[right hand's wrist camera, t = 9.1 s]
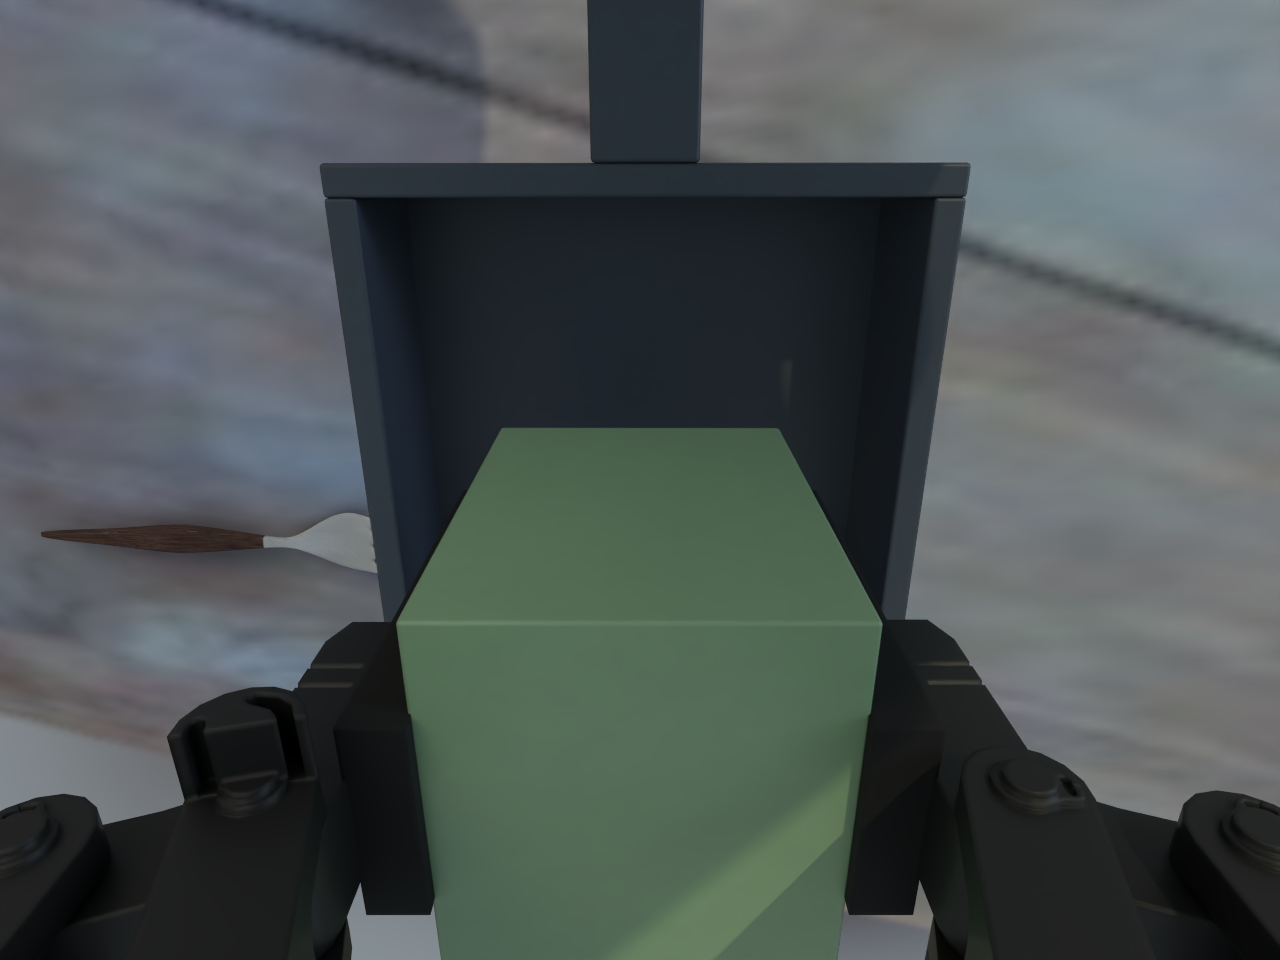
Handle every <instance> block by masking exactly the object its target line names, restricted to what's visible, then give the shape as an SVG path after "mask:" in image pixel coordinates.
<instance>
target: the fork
mask: <svg viewBox="0 0 1280 960" xmlns="http://www.w3.org/2000/svg"><path fill="white" fill-rule="evenodd" d="M41 535H42V537H46V538H52V539H59V540H66V541H75V542H84V543H94V544H104V545H113V546H121V547H129V548H137V549H145V550H153V551H163V552H177V553H194V552H212V551H227V550H241V549H254V548H271V547H287V548H294V549H298V550H302V551H305V552H308V553H310V554H313V555H316V556H318V557H321V558H323V559H326V560H328V561H331V562H334V563H336V564H339V565H342V566H345V567H349V568H353V569H357V570H362V571H367V572H373V573H377V566H376V563H375V561H374V560H375V552H374V547H373V538H372V531H371V524H370V518H369V517H366V516H363V515H360V514H356V513H342V514H337V515H334V516H332V517H329V518H327V519H325V520H323V521H322V522H320V523H318V524H316V525H315V526H313V527H311V528H310V529H308V530H306V531H305V532H303V533H301V534H298V535H296V536H292V537H272V536H265V535H257V534H250V533H244V532H237V531H230V530H223V529H216V528H208V527H200V526H189V525H160V526H144V527H129V528H111V529H82V530H59V531H46V532H41ZM377 574H378V573H377Z"/></svg>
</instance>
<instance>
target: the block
mask: <svg viewBox="0 0 1280 960" xmlns="http://www.w3.org/2000/svg"><path fill="white" fill-rule="evenodd" d="M882 625H883V624H882V621H881V619H880V618H879V616H878V614H877V612H876V610H875V608H874V606H873V604H872V603H871V601H870V599H869V597H868V595H867V593H866V591H865V590H864V588H863V586H862V584H861V582H860V580H859V578H858V576H857V575H856V573H855V571H854V569H853V567H852V565H851V563H850V561H849V560H848V558H847V556H846V554H845V552H844V550H843V548H842V546H841V545H840V543H839V541H838V539H837V537H836V535H835V533H834V531H833V530H832V528H831V526H830V524H829V522H828V520H827V518H826V517H825V515H824V513H823V511H822V509H821V507H820V505H819V503H818V502H817V500H816V498H815V496H814V494H813V492H812V490H811V488H810V487H809V485H808V483H807V481H806V479H805V477H804V475H803V473H802V472H801V470H800V468H799V466H798V464H797V462H796V460H795V458H794V457H793V455H792V453H791V451H790V449H789V447H788V445H787V444H786V442H785V440H784V438H783V436H782V434H781V432H780V430H779V429H777V428H502V429H501V430H500V432H499V434H498V436H497V438H496V440H495V442H494V443H493V445H492V447H491V449H490V451H489V453H488V454H487V456H486V458H485V460H484V462H483V464H482V465H481V467H480V469H479V471H478V473H477V475H476V477H475V478H474V480H473V482H472V484H471V486H470V488H469V489H468V491H467V493H466V495H465V497H464V499H463V500H462V502H461V504H460V506H459V508H458V510H457V512H456V513H455V515H454V517H453V519H452V521H451V523H450V524H449V526H448V528H447V530H446V532H445V534H444V535H443V537H442V539H441V541H440V543H439V545H438V547H437V548H436V550H435V552H434V554H433V556H432V558H431V559H430V561H429V563H428V565H427V567H426V569H425V570H424V572H423V574H422V576H421V578H420V580H419V582H418V583H417V585H416V587H415V589H414V591H413V593H412V594H411V596H410V598H409V600H408V602H407V604H406V605H405V607H404V609H403V611H402V613H401V615H400V617H399V618H398V620H397V623H396V626H397V634H398V641H399V649H400V656H401V664H402V671H403V678H404V686H405V693H406V701H407V708H408V714H411V721H412V729H413V736H414V744H415V751H416V759H417V766H418V774H419V781H420V789H421V796H422V804H423V811H424V819H425V826H426V834H427V841H428V849H429V856H430V864H431V871H432V879H433V886H434V893H435V900H434V910H435V917H436V925H437V932H438V940H439V947H440V955H441V960H837V958H838V951H839V943H840V936H841V929H842V921H843V914H844V906H845V898H844V897H845V890H846V882H847V875H848V867H849V860H850V852H851V845H852V837H853V830H854V822H855V815H856V807H857V800H858V792H859V785H860V777H861V770H862V762H863V755H864V747H865V740H866V732H867V725H868V717H869V714H870V713H871V707H872V699H873V692H874V684H875V677H876V670H877V662H878V655H879V647H880V640H881V633H882Z"/></svg>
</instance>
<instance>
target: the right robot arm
mask: <svg viewBox="0 0 1280 960" xmlns="http://www.w3.org/2000/svg"><path fill="white" fill-rule="evenodd" d="M467 491H468V490H463V492H462V494H461V495H460V497H459V499H458V501H457V503H456V505H455V506H454V508H453V510H452V512H451V514H450V515H449V517H448V519H447V521H446V523H445V525H444V526H443V528H442V530H441V532H440V534H439V536H438V537H437V539H436V541H435V543H434V545H433V547H432V548H431V550H430V552H429V554H428V556H427V558H426V559H425V561H424V563H423V565H422V567H421V568H420V570H419V572H418V574H417V576H416V578H415V579H414V581H413V583H412V585H411V587H410V589H409V590H408V592H407V594H406V596H405V598H404V600H403V601H402V603H401V605H400V607H399V609H398V611H397V612H396V614H395V616H394V618H393V620H392V621H391V622H352V623H351V624H349V625H348V626H346V627H345V628H344V629H342V630H341V631H340V632H338V633H337V634H336V635H334V636H333V637H331V638H330V639H329V640H327V641H326V642H325V644H324V645H323V647H322V648H321V650H320V651H319V653H318V654H317V656H316V657H315V659H314V660H313V662H312V663H311V668H310V669H307V671H306V672H305V674H304V675H303V677H302V678H301V680H300V681H299V683H298V688H295V689H294V690H293V691H289V690H285V689H281V688H277V687H254V688H247V689H243V690H239V691H235V692H231V693H227V694H224V695H221V696H219V697H217V698H215V699H213V700H210V701H208V702H206V703H204V704H201V705H200V706H198V707H197V708H195V709H194V710H193V711H191V712H190V713H189V714H187V715H186V716H184V717H183V718H182V719H180V720H179V721H178V723H177V724H176V725H175V727H174V728H173V729H172V731H171V732H170V733H169V735H168V736H167V739H168V743H169V746H170V750H171V753H172V757H173V760H174V764H175V768H176V771H177V775H178V778H179V782H180V785H181V789H182V792H183V796H184V799H185V801H184V803H183V805H181V806H178V807H175V808H171V809H168V810H165V811H161V812H157V813H153V814H148V815H144V816H140V817H135V818H131V819H127V820H122V821H118V822H114V823H109V824H105V825H103V824H102V822H101V819H100V816H99V813H98V810H97V807H96V806H95V805H93V804H92V803H91V802H90V801H89V800H88V799H86V798H85V797H81V796H74V795H68V794H59V795H53V796H45V797H38V798H34V799H31V800H29V801H26V802H23V803H20V804H17V805H14V806H11V807H8V808H6V809H4V810H2V811H0V960H351V953H352V944H351V938H350V931H349V926H348V921H347V915H348V912H349V910H350V907H351V905H352V902H353V900H354V897H355V895H356V892H357V889H358V887H359V884H360V882H361V888H362V893H363V899H364V904H365V910H366V914H367V915H430V914H431V911H432V907H433V903H434V900H435V893H434V886H433V879H432V871H431V864H430V856H429V849H428V841H427V834H426V826H425V819H424V811H423V804H422V796H421V789H420V781H419V774H418V766H417V759H416V751H415V744H414V736H413V729H412V721H411V714H408V708H407V701H406V693H405V686H404V678H403V671H402V664H401V656H400V649H399V641H398V634H397V626H396V623H397V620H398V618H399V617H400V615H401V613H402V611H403V609H404V607H405V605H406V604H407V602H408V600H409V598H410V596H411V594H412V593H413V591H414V589H415V587H416V585H417V583H418V582H419V580H420V578H421V576H422V574H423V572H424V570H425V569H426V567H427V565H428V563H429V561H430V559H431V558H432V556H433V554H434V552H435V550H436V548H437V547H438V545H439V543H440V541H441V539H442V537H443V535H444V534H445V532H446V530H447V528H448V526H449V524H450V523H451V521H452V519H453V517H454V515H455V513H456V512H457V510H458V508H459V506H460V504H461V502H462V500H463V499H464V497H465V495H466V493H467ZM812 492H813V494H814V496H815V498H816V500H817V502H818V503H819V505H820V507H821V509H822V511H823V513H824V515H825V517H826V518H827V520H828V522H829V524H830V526H831V528H832V530H833V531H834V533H835V535H836V537H837V539H838V541H839V543H840V545H841V546H842V548H843V550H844V552H845V554H846V556H847V558H848V560H849V561H850V563H851V565H852V567H853V569H854V571H855V573H856V575H857V576H858V578H859V580H860V582H861V584H862V586H863V588H864V590H865V591H866V593H867V595H868V597H869V599H870V601H871V603H872V604H873V606H874V608H875V610H876V612H877V614H878V616H879V618H880V619H881V621H882V624H883V625H882V633H881V640H880V647H879V655H878V662H877V670H876V677H875V684H874V692H873V699H872V707H871V713H870V714H869V717H868V725H867V732H866V740H865V747H864V755H863V762H862V770H861V777H860V785H859V792H858V800H857V807H856V815H855V822H854V830H853V837H852V845H851V852H850V860H849V867H848V875H847V882H846V890H845V897H844V898H845V902H846V905H847V909H848V913H849V915H913V912H914V907H915V901H916V896H917V890H918V885H919V879H920V882H921V884H922V887H923V890H924V892H925V895H926V897H927V900H928V902H929V905H930V907H931V910H932V912H933V921H932V926H931V931H930V936H929V941H928V946H927V951H926V956H925V960H1280V808H1279V807H1278V806H1276V805H1274V804H1271V803H1268V802H1265V801H1262V800H1259V799H1256V798H1253V797H1250V796H1247V795H1244V794H1238V793H1231V792H1223V791H1210V792H1204V793H1198V794H1195V795H1194V796H1192V797H1191V798H1190V799H1189V800H1188V801H1187V802H1185V803H1184V805H1183V807H1182V810H1181V813H1180V816H1179V819H1178V822H1176V821H1172V820H1167V819H1163V818H1159V817H1154V816H1150V815H1146V814H1141V813H1137V812H1133V811H1128V810H1124V809H1120V808H1116V807H1113V806H1109V805H1106V804H1103V803H1099V802H1096V799H1095V798H1094V796H1093V795H1092V793H1091V792H1090V790H1089V789H1088V787H1087V785H1086V784H1085V782H1084V781H1083V780H1082V779H1080V778H1079V777H1078V776H1077V775H1076V774H1074V773H1073V772H1072V771H1071V770H1070V769H1068V768H1067V767H1066V766H1065V765H1063V764H1061V763H1059V762H1057V761H1055V760H1053V759H1051V758H1049V757H1047V756H1045V755H1043V754H1041V753H1038V752H1034V751H1031V750H1028V749H1027V748H1026V746H1025V745H1024V743H1023V742H1022V740H1021V739H1020V737H1019V736H1018V734H1017V733H1016V731H1015V730H1014V728H1013V727H1012V725H1011V724H1010V722H1009V721H1008V719H1007V718H1006V716H1005V715H1004V713H1003V712H1002V710H1001V709H1000V707H999V706H998V704H997V703H996V701H995V700H994V698H993V697H992V695H991V694H990V692H989V691H988V689H987V688H986V686H985V685H982V680H981V679H980V677H979V676H978V674H977V673H976V671H975V670H974V668H973V667H972V666H969V661H968V659H967V658H966V656H965V655H964V653H963V652H962V650H961V649H960V647H959V646H958V644H957V643H956V641H955V640H954V639H953V638H952V637H950V636H949V635H948V634H946V633H945V632H944V631H942V630H941V629H939V628H938V627H937V626H935V625H934V624H933V623H931V622H930V621H928V620H887V619H886V617H885V615H884V613H883V612H882V610H881V608H880V606H879V604H878V602H877V601H876V599H875V597H874V595H873V593H872V591H871V590H870V588H869V586H868V584H867V582H866V580H865V579H864V577H863V575H862V573H861V571H860V569H859V568H858V566H857V564H856V562H855V560H854V558H853V557H852V555H851V553H850V551H849V549H848V548H847V546H846V544H845V542H844V540H843V538H842V537H841V535H840V533H839V531H838V529H837V527H836V526H835V524H834V522H833V520H832V518H831V516H830V515H829V513H828V511H827V509H826V507H825V505H824V504H823V502H822V500H821V498H820V496H819V494H818V493H817V491H816V490H812Z"/></svg>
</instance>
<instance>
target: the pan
mask: <svg viewBox="0 0 1280 960" xmlns="http://www.w3.org/2000/svg"><path fill="white" fill-rule="evenodd" d="M703 9H704V0H587V10H588V54H589V99H590V143H591V160H592V162H594V163H323V164H321V165H320V172H321V179H322V186H323V193H324V196H325V197H327V199H325V207H326V214H327V222H328V229H329V236H330V243H331V250H332V257H333V264H334V271H335V278H336V285H337V292H338V299H339V306H340V313H341V320H342V327H343V334H344V341H345V348H346V355H347V362H348V369H349V376H350V383H351V390H352V397H353V404H354V411H355V418H356V425H357V432H358V439H359V446H360V453H361V460H362V467H363V474H364V481H365V488H366V495H367V502H368V509H369V516H370V524H371V531H372V538H373V545H374V552H375V559H376V566H377V573H378V580H379V587H380V594H381V601H382V608H383V615H384V622H391V621H392V620H393V618H394V616H395V614H396V612H397V611H398V609H399V607H400V605H401V603H402V601H403V600H404V598H405V596H406V594H407V592H408V590H409V589H410V587H411V585H412V583H413V581H414V579H415V578H416V576H417V574H418V572H419V570H420V568H421V567H422V565H423V563H424V561H425V559H426V558H427V556H428V554H429V552H430V550H431V548H432V547H433V545H434V543H435V541H436V539H437V537H438V536H439V534H440V532H441V530H442V528H443V526H444V525H445V523H446V521H447V519H448V517H449V515H450V514H451V512H452V510H453V508H454V506H455V505H456V503H457V501H458V499H459V497H460V495H461V494H462V492H463V490H468V489H469V488H470V486H471V484H472V482H473V480H474V478H475V477H476V475H477V473H478V471H479V469H480V467H481V465H482V464H483V462H484V460H485V458H486V456H487V454H488V453H489V451H490V449H491V447H492V445H493V443H494V442H495V440H496V438H497V436H498V434H499V432H500V430H501V429H502V428H777V429H779V430H780V432H781V434H782V436H783V438H784V440H785V442H786V444H787V445H788V447H789V449H790V451H791V453H792V455H793V457H794V458H795V460H796V462H797V464H798V466H799V468H800V470H801V472H802V473H803V475H804V477H805V479H806V481H807V483H808V485H809V487H810V488H811V490H816V491H817V493H818V494H819V496H820V498H821V500H822V502H823V504H824V505H825V507H826V509H827V511H828V513H829V515H830V516H831V518H832V520H833V522H834V524H835V526H836V527H837V529H838V531H839V533H840V535H841V537H842V538H843V540H844V542H845V544H846V546H847V548H848V549H849V551H850V553H851V555H852V557H853V558H854V560H855V562H856V564H857V566H858V568H859V569H860V571H861V573H862V575H863V577H864V579H865V580H866V582H867V584H868V586H869V588H870V590H871V591H872V593H873V595H874V597H875V599H876V601H877V602H878V604H879V606H880V608H881V610H882V612H883V613H884V615H885V617H886V619H887V620H905V615H906V608H907V601H908V594H909V587H910V580H911V573H912V567H913V560H914V553H915V546H916V539H917V532H918V525H919V518H920V511H921V505H922V498H923V491H924V484H925V477H926V470H927V463H928V456H929V450H930V443H931V436H932V429H933V422H934V415H935V408H936V401H937V394H938V388H939V381H940V374H941V367H942V360H943V353H944V346H945V339H946V332H947V326H948V319H949V312H950V305H951V298H952V291H953V284H954V277H955V270H956V264H957V257H958V250H959V243H960V236H961V229H962V222H963V215H964V209H965V198H962V197H964V196H966V194H967V188H968V181H969V174H970V164H969V163H697V162H698V161H699V159H700V127H701V88H702V49H703Z"/></svg>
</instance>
